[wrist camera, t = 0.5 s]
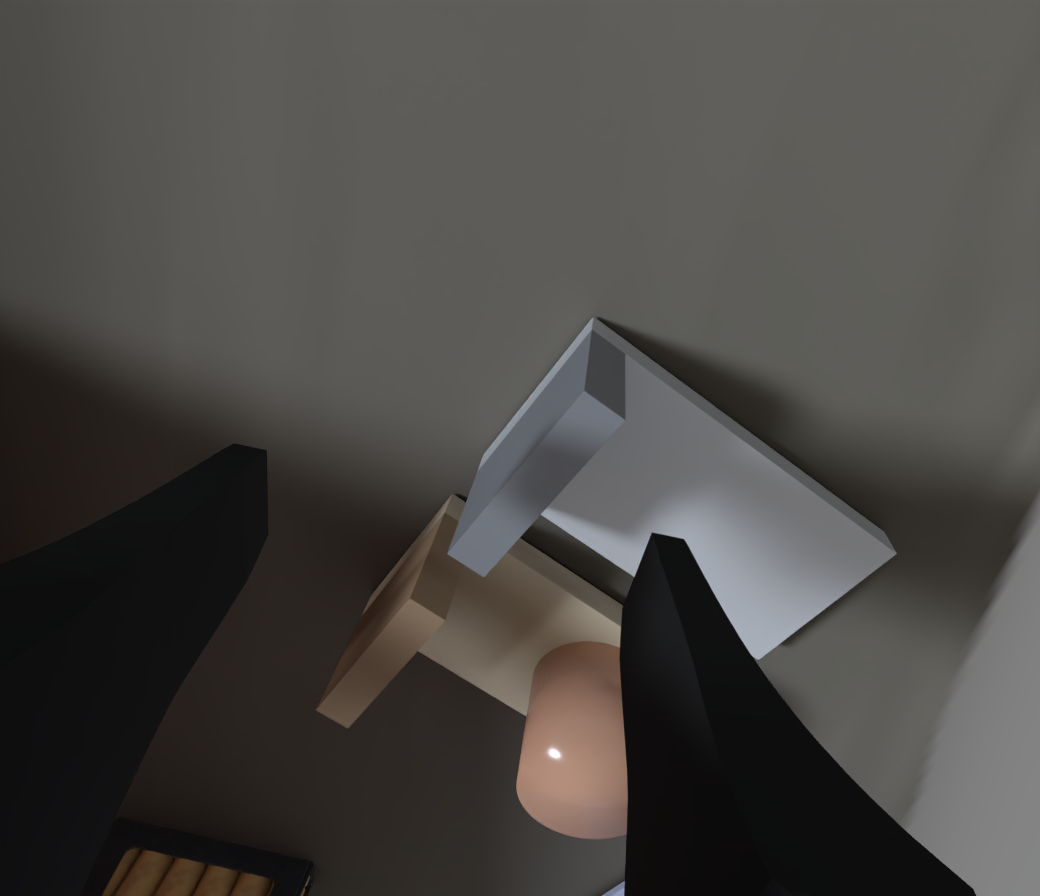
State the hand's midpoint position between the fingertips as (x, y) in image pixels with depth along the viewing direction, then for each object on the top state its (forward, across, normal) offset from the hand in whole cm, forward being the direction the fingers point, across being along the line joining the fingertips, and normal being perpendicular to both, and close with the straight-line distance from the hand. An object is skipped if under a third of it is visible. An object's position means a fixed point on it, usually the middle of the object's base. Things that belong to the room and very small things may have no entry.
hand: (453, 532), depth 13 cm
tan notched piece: (+9, -3, +12) cm, 15 cm away
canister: (+7, -6, +13) cm, 16 cm away
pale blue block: (+9, -7, +4) cm, 12 cm away
